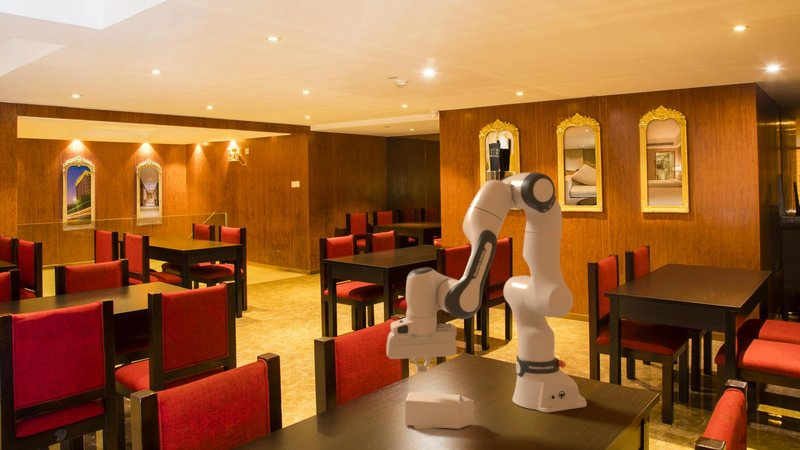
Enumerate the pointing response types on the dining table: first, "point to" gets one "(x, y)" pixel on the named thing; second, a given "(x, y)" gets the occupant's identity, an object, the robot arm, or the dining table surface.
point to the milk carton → (438, 410)
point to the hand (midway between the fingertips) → (421, 371)
